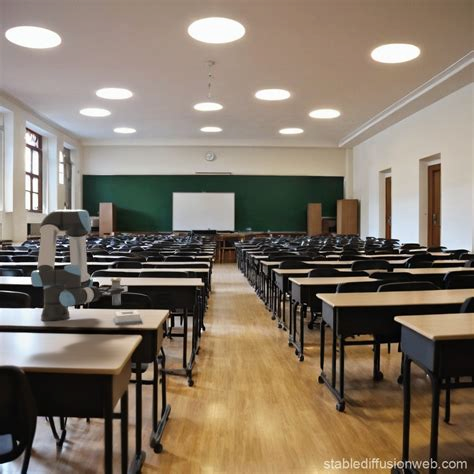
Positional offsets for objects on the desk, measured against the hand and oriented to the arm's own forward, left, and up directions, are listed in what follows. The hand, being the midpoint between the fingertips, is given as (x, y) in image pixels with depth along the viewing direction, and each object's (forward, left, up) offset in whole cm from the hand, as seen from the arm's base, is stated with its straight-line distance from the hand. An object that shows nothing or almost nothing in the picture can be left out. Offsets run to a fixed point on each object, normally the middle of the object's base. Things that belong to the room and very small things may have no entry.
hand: (123, 288), depth 242 cm
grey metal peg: (+3, -4, -8) cm, 10 cm away
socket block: (+1, +2, -18) cm, 18 cm away
